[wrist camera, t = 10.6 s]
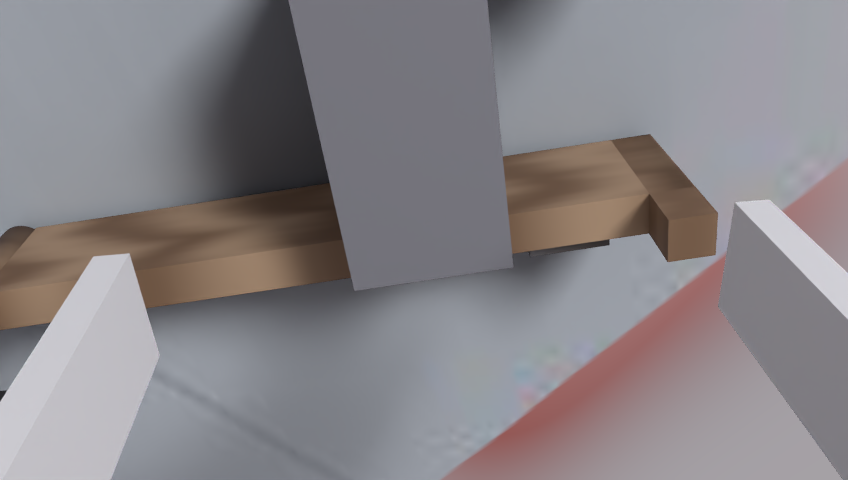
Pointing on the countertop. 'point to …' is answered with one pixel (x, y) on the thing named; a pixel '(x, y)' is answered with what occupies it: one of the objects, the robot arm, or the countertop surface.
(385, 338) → the countertop surface
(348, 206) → the rubber block
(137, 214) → the gate
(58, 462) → the robot arm
